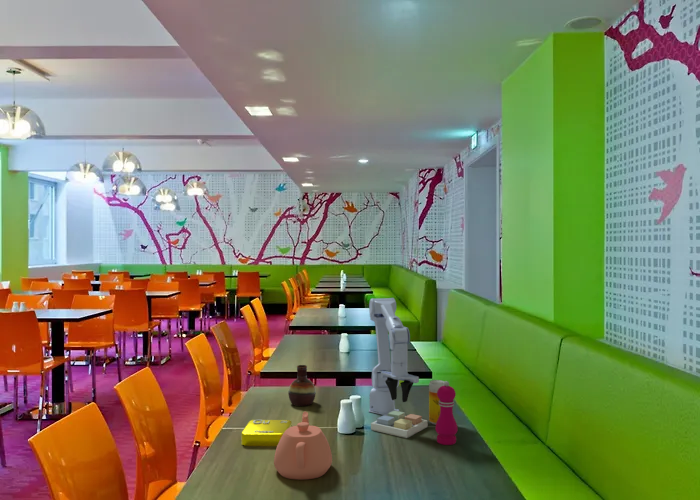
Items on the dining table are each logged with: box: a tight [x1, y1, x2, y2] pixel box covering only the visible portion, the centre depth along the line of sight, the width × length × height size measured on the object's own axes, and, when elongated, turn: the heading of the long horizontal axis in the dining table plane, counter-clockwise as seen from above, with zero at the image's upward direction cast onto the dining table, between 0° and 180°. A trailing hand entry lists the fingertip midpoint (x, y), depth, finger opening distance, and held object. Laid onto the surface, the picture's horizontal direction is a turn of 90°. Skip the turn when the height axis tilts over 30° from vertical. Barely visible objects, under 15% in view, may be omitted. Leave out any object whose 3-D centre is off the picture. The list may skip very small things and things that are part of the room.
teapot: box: [273, 411, 333, 480], centre depth 165 cm, size 25×17×13 cm
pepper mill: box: [434, 380, 459, 446], centre depth 186 cm, size 7×7×20 cm
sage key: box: [388, 410, 406, 421], centre depth 205 cm, size 4×4×2 cm
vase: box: [288, 364, 316, 407], centre depth 231 cm, size 11×11×15 cm
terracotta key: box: [404, 413, 423, 425], centre depth 200 cm, size 4×4×2 cm
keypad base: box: [370, 418, 429, 439], centre depth 200 cm, size 14×14×2 cm
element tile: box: [240, 419, 293, 447], centre depth 190 cm, size 15×15×5 cm
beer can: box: [428, 379, 445, 426], centre depth 206 cm, size 6×6×15 cm
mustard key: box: [394, 419, 412, 430], centre depth 195 cm, size 4×4×2 cm
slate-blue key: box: [376, 415, 395, 426], centre depth 199 cm, size 4×4×2 cm
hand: (399, 400), depth 200 cm, fingers open, 4 cm apart
